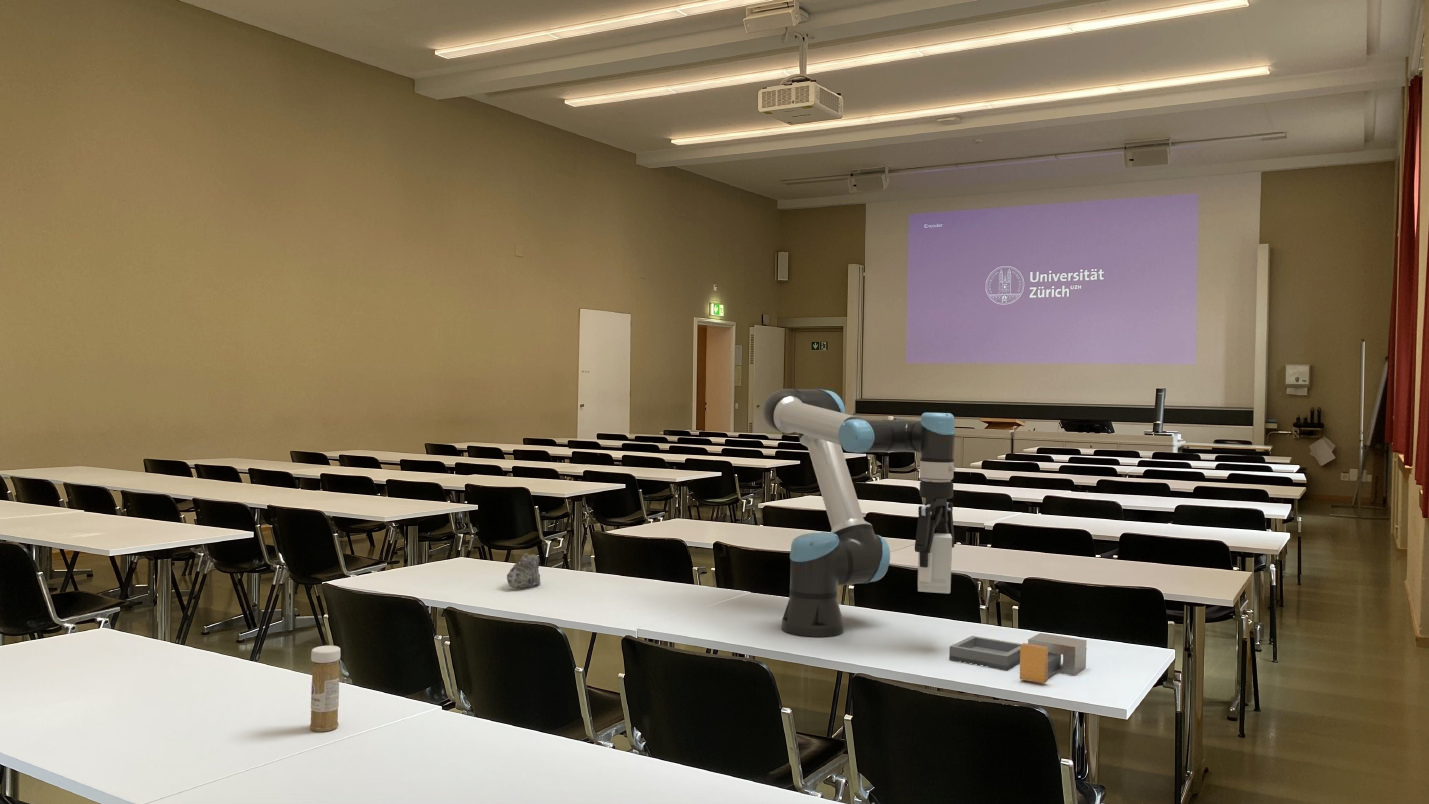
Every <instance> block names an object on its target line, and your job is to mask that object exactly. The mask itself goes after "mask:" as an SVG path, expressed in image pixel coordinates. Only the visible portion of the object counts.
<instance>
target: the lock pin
mask: <svg viewBox="0 0 1429 804" xmlns="http://www.w3.org/2000/svg"><path fill="white" fill-rule="evenodd" d="M1020 644H1021V645H1020V663H1019V680H1024V681H1028V682H1035V683H1039V684H1046V683H1047V682H1048V677H1050V676H1051V675H1053V674H1055V673H1056V672H1058V671H1059V670H1060V669H1061V670H1062V654H1056V653H1050V652H1048V647H1045V646H1039V645H1033V644H1028V642H1027V643H1025V642H1024V643H1020Z"/></svg>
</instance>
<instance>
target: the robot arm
mask: <svg viewBox="0 0 1429 804" xmlns="http://www.w3.org/2000/svg"><path fill="white" fill-rule="evenodd" d="M762 417H763V419H764V422H765V423H766V425H767V426H768V427H769V428H771V429H772V430H774V431H776V432H781V433H784V434H792V433H796V434H797V435H798V438H799V439H798V440H799V443H800V444H801V445H803V446H805V447H806V448H807V449H808V453H809V456H810V459H811V462H812V467H813V471H814V473H815V476H816V479H817V483H818V484H817V485H818V486H819V490H820V493H821V497H822V500H823V504H824V508H825V512H826V514H827V517H828V522H829V524H830V528H831V530H830V532H828V531H827V532H825V531H822V532H811V533H804V534H801V535H798V536H796V537H795V538H794V539H792V542H791V544H790V545H791V546H790V553H789V559H790V565H789V567H790V571H789V573H790V574H789V599H788V602H787V605H786V606H785V607H786V608H785V610H784V614H783V616H782V618H781V630H783V632H786V633H788V634H792V635H795V636H796V635H797V636H803V637H817V638H819V637H821V638H822V637H832V636H833V637H834V636H838V635H841V634H842V633H844V631H845V630H844V620H843V615H842V613H841V608H840V605H839V602H838V586H845V585H855V584H868V583H872V582H878V581H879V580H881V579H882V578H884V576H885V575H886V573H887V572H888V569H889V565H890V562H891V550H890V546H889V543H888V542H887V540H886V539H885V538H884V537H883V536H881V535H879V534H875V531H874V528H873V524H871V523H870V522H868V521H866V520H865V518H864V516H863V515H864V514H863V513H862V509H861V506H860V503H859V499H858V497H857V493H856V489H855V487H854V483H853V481H852V476H851V474H850V470H849V468H848V467H849V466H848V465H847V461H846V457H845V455H844V452H843V450H844V451H846V452H848V453H856V454H861V453H886V452H887V453H904V452H905V453H920V457H919V459H920V460H919V478H920V479H921V480H920V481H919V496H920V498H925V502H924V506H923V505H919V506H918V509H917V510H918V518H917V527H916V531H915V532H916V534H915V541H914V552H915V553H918V555H919V581H923V582H931V575H932V553H930V549H931V545H932V541H933V536H934V533H935V531H936V533H942V534H951V536H952V549H954V548H955V541H956V540H955V530H954V517H953V508H954V507H953V506H954V504H953V502H948V501H947V500H949V499H953V497H954V483H953V481H952V480H953V479H954V471H955V470H956V467H955V465H954V463H955V459H954V458H955V438H956V428H955V427H956V426H955V424H956V423H955V417H954V415H953V414H952V413H950V412H946V413H945V412H923V413H922V414H921V419H920V420H914V419H913V420H912V419H904V418H902V419H900V418H897V419H869V418H868V419H867V418H864V417H860V416H856V415H853V414H852V415H851V414H848V413H846V407H845V404H844V402H843V399H841V397H840V396H839V395H838V394H837V393H836V392H835V391H831V390H827V389H822V388H814V389H802V388H801V389H800V388H782V389H777V390H776V391H774V392H772V393H770V395H768V396H767V397H766V399H765V401H764V403H763V405H762Z"/></svg>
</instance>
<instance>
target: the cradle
mask: <svg viewBox="0 0 1429 804" xmlns="http://www.w3.org/2000/svg"><path fill="white" fill-rule="evenodd" d="M1021 644H1022V643H1019V642H1018V643H1017V642H1012V641H1006V640H1002V639H1001V640H1000V639H993V638H988V637H982V636H976V635H970V636H968V637H967V638H965V639H962V640H960V641H957V642H956V643H954V644H952V645H949V657H948V660H949V661H952V660H954V662H958V661H961V662H960V663H963V662H966V663H965V664H969V663H972V664H971V665H974V664H977V665H976V666H980V665H983V666H982V667H985V666H988V667H987V668H990V669H991V668H992V669H996V668H997V669H998V670H1003V671H1009V670H1010V669H1012V668H1014V667H1016V666H1017V665H1020V645H1021Z"/></svg>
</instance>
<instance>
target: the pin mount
mask: <svg viewBox="0 0 1429 804" xmlns="http://www.w3.org/2000/svg"><path fill="white" fill-rule="evenodd" d="M1087 642H1088V641H1087V639H1083V638H1081V639H1080V638H1074V637H1070V636H1069V637H1068V636H1061V635H1054V634H1050V633H1043V632H1039V633H1037V634H1036V635H1033V636H1032V637H1030V638H1029V639H1027V644H1033V645H1039V646H1045V647H1048V652H1050V653H1056V654H1061V656H1062V674H1063V675H1067V676H1068V675H1069V676H1077V675H1078V674H1079V673H1081V672H1083V670H1085V669H1086V667H1087Z"/></svg>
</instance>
